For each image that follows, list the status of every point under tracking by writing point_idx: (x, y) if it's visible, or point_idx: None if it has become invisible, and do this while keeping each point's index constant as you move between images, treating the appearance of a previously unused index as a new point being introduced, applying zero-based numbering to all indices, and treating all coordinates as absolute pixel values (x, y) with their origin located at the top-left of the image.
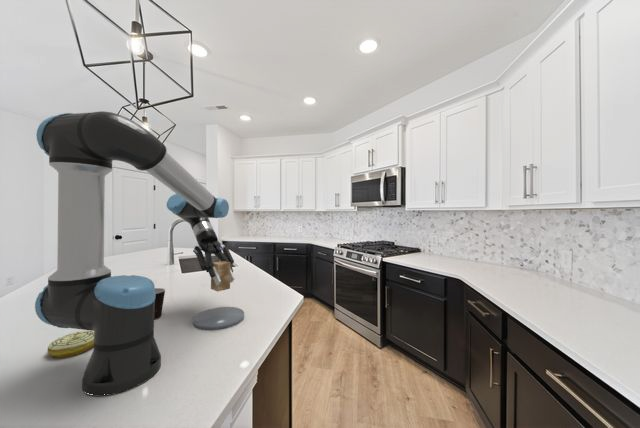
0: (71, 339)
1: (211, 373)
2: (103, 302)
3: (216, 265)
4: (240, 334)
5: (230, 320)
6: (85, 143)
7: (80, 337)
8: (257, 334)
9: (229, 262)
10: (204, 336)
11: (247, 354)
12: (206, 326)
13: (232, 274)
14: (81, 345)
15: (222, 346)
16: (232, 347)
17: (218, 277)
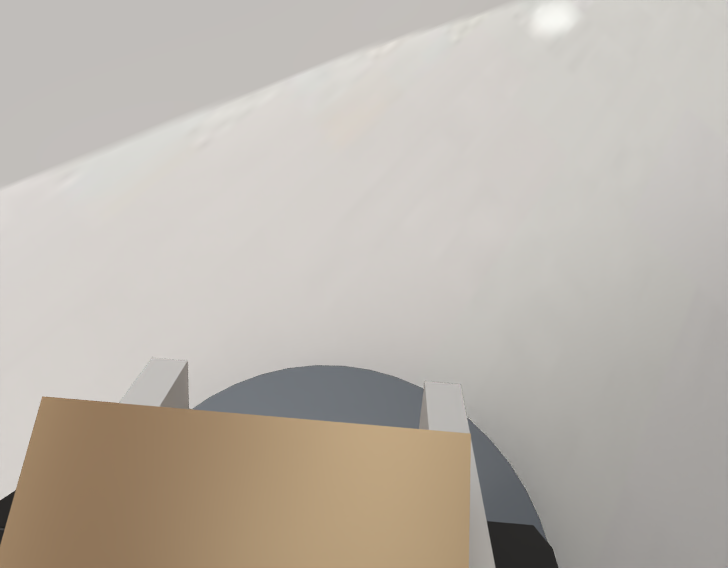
0: None
1: (691, 66)
2: None
3: (462, 546)
4: (389, 234)
5: (334, 405)
6: None
7: None
8: (324, 156)
9: (39, 442)
10: (565, 398)
11: (500, 57)
12: (516, 477)
13: (139, 404)
14: None
15: (546, 202)
16: (514, 155)
17: (449, 428)
